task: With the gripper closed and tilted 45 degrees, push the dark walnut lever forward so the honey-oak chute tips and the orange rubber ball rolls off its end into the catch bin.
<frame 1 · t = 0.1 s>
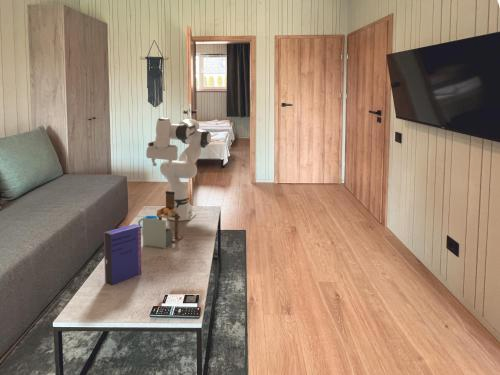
hand: (161, 166, 304), 39 cm above the table, tool pointing down, fingers open, 8 cm apart
mug: (147, 230, 306), on the table
cereal box: (123, 278, 230), on the table
stand: (168, 238, 289), on the table
catch bin: (159, 244, 279), on the table
chute: (167, 205, 284), point 21 cm above the table, hinge at 0.0°, touching ball
ball: (166, 211, 284), point 17 cm above the table, touching chute
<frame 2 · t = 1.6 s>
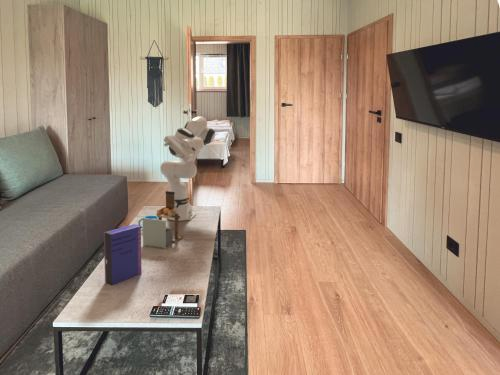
hand: (170, 150, 282), 52 cm above the table, tool horizontal, fingers open, 8 cm apart
nothing on the table moved.
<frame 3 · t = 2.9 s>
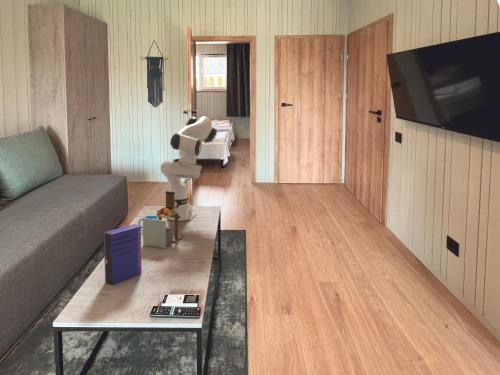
hand: (179, 182, 297), 31 cm above the table, tool tilted 45°, fingers open, 6 cm apart
nothing on the table moved.
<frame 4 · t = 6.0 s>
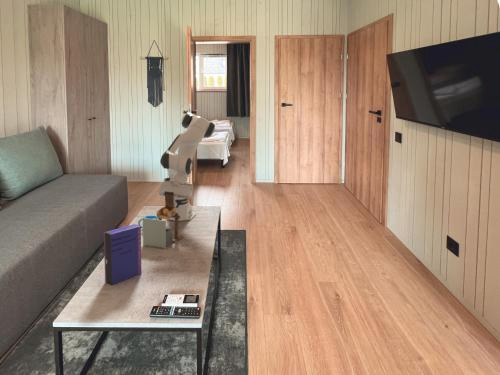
hand: (171, 202, 287), 22 cm above the table, tool tilted 45°, fingers closed, pressing on chute
chute: (166, 205, 283), point 21 cm above the table, hinge at 6.0°, touching ball, gripper
ball: (165, 211, 283), point 17 cm above the table, tilted 15°, touching chute
everything else where it was.
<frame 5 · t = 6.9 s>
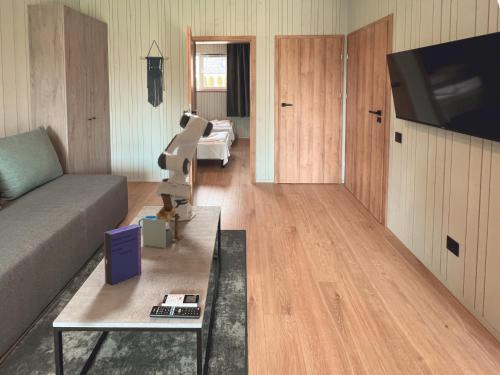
hand: (168, 203, 285), 22 cm above the table, tool tilted 45°, fingers closed, pressing on chute
chute: (164, 208, 281), point 20 cm above the table, hinge at 23.3°, touching gripper
ball: (156, 241, 276), point 2 cm above the table, tilted 32°, touching catch bin
everything else where it was.
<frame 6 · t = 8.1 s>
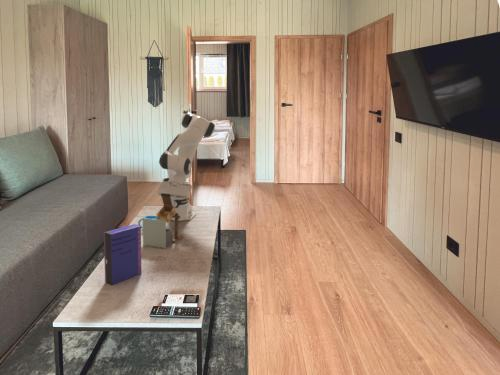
hand: (169, 202, 288), 21 cm above the table, tool tilted 45°, fingers closed
chute: (164, 208, 281), point 20 cm above the table, hinge at 23.6°
ball: (158, 240, 278), point 2 cm above the table, tilted 29°, touching catch bin
everything else where it was.
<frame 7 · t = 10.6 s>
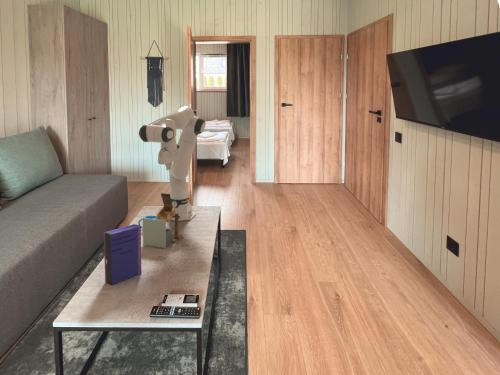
hand: (168, 170, 292), 39 cm above the table, tool pointing down, fingers closed
ball: (161, 238, 281), point 2 cm above the table, tilted 144°, touching catch bin
everything else where it was.
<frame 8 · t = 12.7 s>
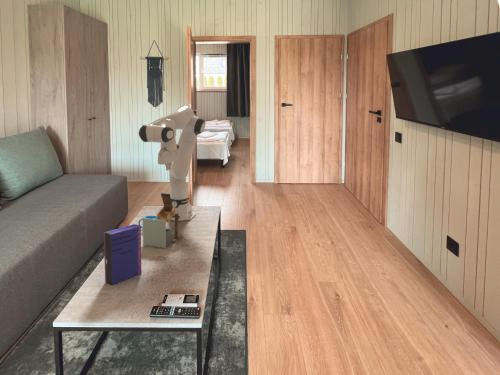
hand: (168, 170, 292), 39 cm above the table, tool pointing down, fingers closed
ball: (161, 239, 281), point 2 cm above the table, tilted 124°, touching catch bin
everything else where it was.
at the end: ball inside the target area on the catch bin (2.5 cm from its centre), point 2.4 cm above the catch bin's base; chute at +24° (first picture: +0°) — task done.
